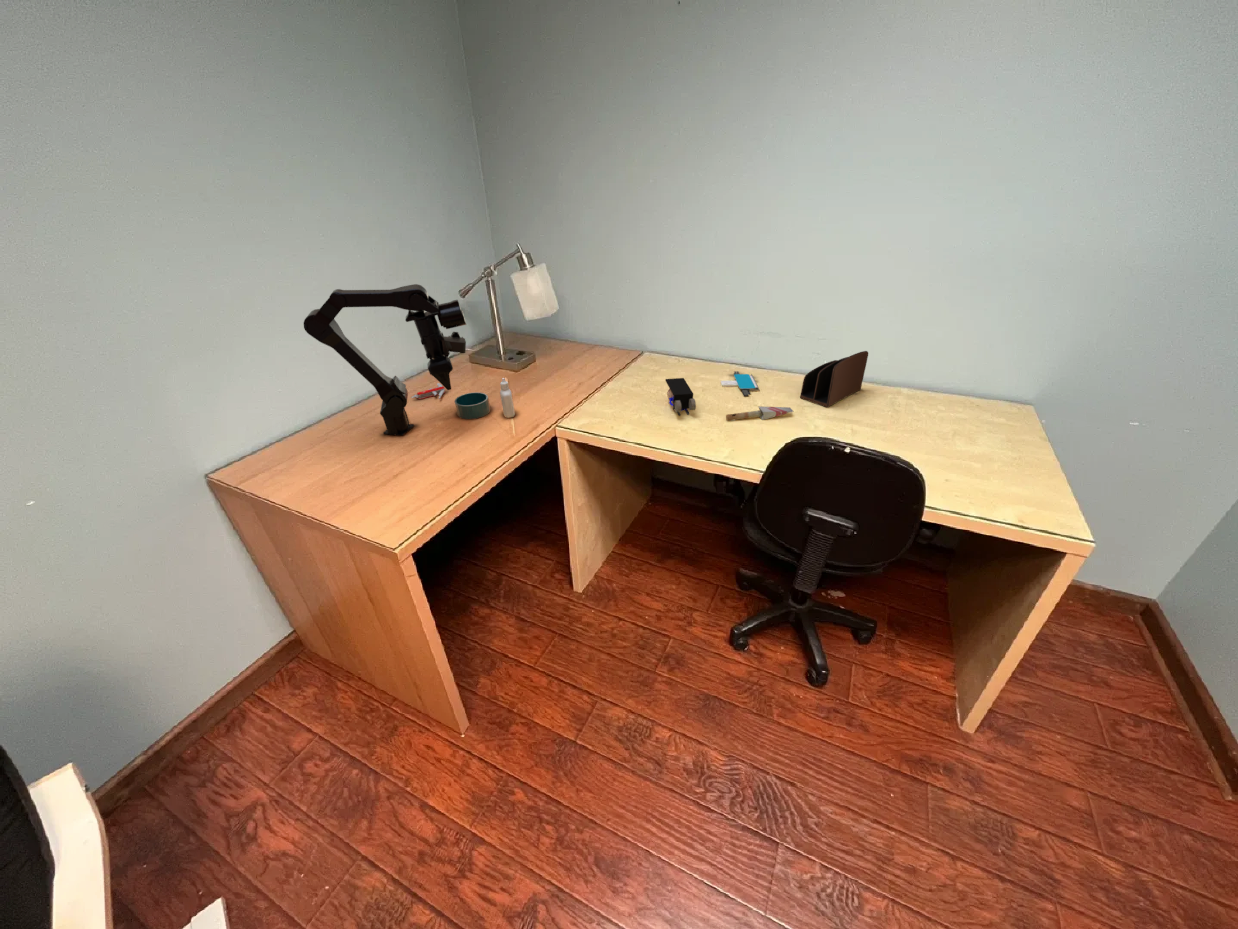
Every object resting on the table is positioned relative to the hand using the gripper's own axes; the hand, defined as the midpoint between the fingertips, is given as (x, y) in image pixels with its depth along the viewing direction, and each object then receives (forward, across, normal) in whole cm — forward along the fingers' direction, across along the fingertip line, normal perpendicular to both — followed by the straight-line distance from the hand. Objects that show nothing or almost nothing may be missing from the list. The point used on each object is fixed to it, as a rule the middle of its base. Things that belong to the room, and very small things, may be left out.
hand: (448, 383), depth 145 cm
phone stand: (+22, -12, -91) cm, 94 cm away
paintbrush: (+21, -35, -83) cm, 93 cm away
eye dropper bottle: (+14, -3, -14) cm, 20 cm away
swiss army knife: (+12, +22, +9) cm, 27 cm away
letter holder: (+24, -30, -113) cm, 120 cm away
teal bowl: (+13, +4, -4) cm, 14 cm away
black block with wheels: (+19, -20, -65) cm, 70 cm away
